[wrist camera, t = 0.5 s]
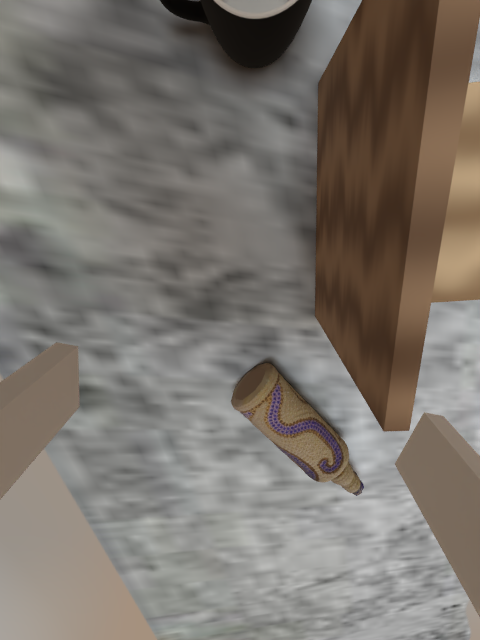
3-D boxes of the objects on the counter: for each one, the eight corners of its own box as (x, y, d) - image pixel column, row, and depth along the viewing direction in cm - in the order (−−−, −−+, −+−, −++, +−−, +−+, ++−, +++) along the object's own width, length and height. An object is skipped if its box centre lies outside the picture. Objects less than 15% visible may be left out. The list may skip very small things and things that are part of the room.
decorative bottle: (228, 383, 40) (224, 414, 34) (270, 353, 38) (274, 380, 32) (331, 485, 47) (344, 527, 41) (371, 463, 45) (391, 504, 39)
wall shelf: (318, 83, 27) (464, -192, 9) (487, 63, 26) (1072, -298, 8) (315, 315, 36) (383, 431, 17) (442, 307, 35) (661, 421, 16)
